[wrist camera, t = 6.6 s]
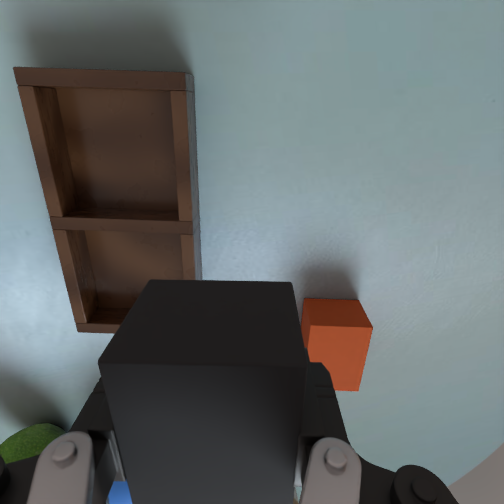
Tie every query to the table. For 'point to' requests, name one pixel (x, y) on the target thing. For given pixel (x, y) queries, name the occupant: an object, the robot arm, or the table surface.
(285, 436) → the black rectangular block
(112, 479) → the robot arm
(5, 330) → the table surface
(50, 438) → the fruit
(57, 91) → the frame
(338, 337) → the orange block
